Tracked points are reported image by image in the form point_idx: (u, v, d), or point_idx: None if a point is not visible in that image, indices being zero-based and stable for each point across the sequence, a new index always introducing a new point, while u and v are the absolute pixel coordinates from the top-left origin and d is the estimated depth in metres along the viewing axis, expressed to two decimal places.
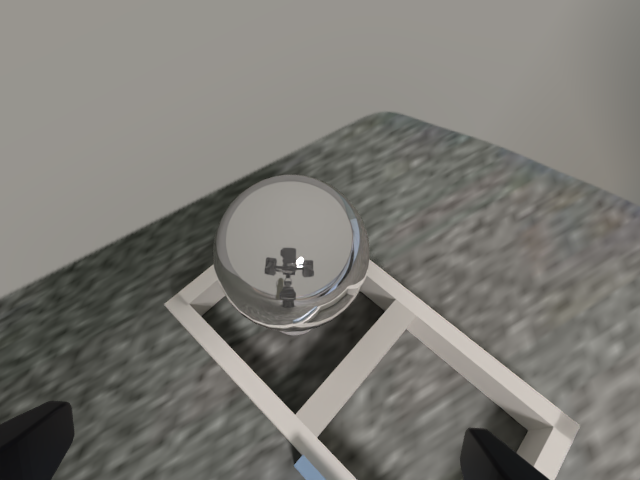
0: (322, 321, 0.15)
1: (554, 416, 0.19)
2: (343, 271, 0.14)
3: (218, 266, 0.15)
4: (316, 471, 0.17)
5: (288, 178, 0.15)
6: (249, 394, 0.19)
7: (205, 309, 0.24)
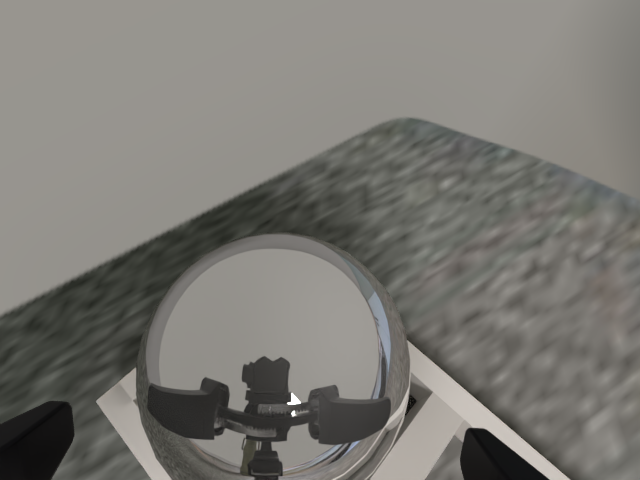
0: None
1: None
2: (370, 436, 0.07)
3: (139, 410, 0.08)
4: None
5: (269, 247, 0.08)
6: None
7: None
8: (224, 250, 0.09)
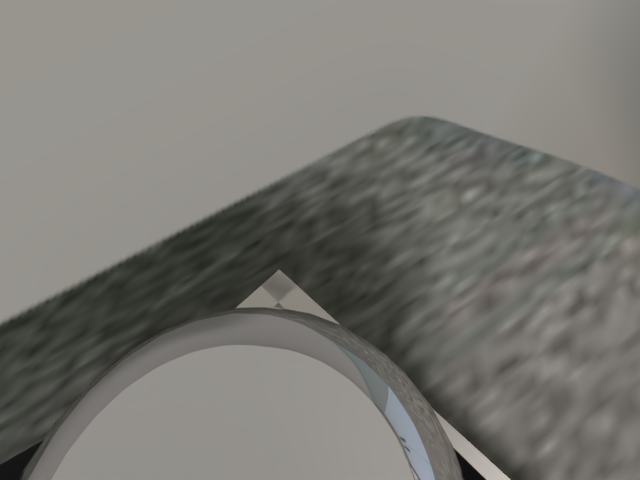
0: None
1: None
2: None
3: None
4: None
5: (229, 369, 0.04)
6: None
7: None
8: (150, 365, 0.05)
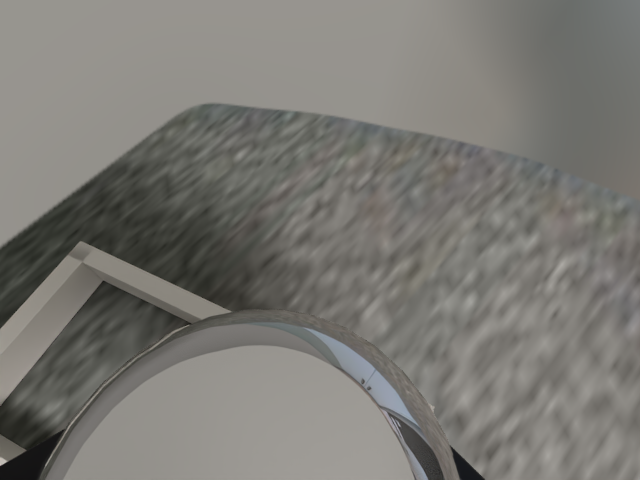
0: None
1: None
2: None
3: None
4: None
5: (253, 373, 0.05)
6: None
7: None
8: (171, 369, 0.05)
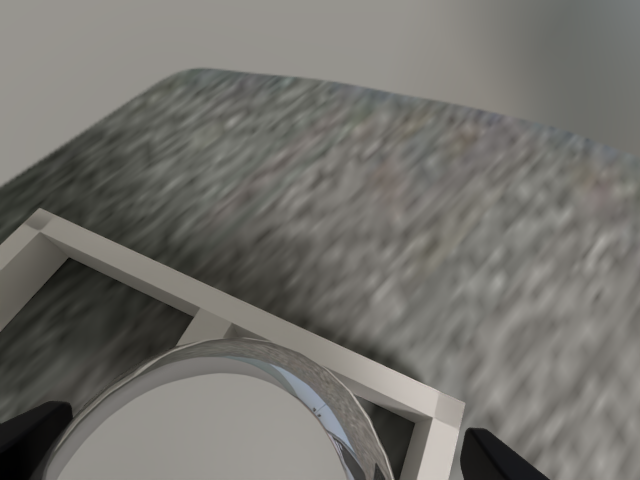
0: None
1: (431, 402, 0.14)
2: None
3: None
4: None
5: (190, 399, 0.06)
6: None
7: None
8: (127, 396, 0.06)
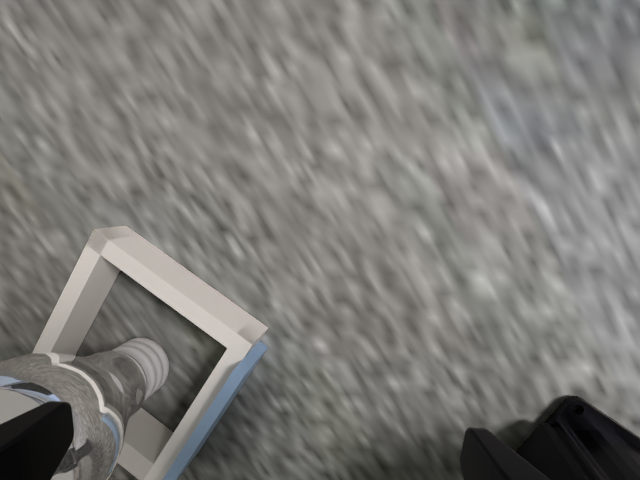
0: (98, 433, 0.14)
1: (92, 252, 0.20)
2: None
3: None
4: (164, 477, 0.20)
5: None
6: None
7: None
8: None
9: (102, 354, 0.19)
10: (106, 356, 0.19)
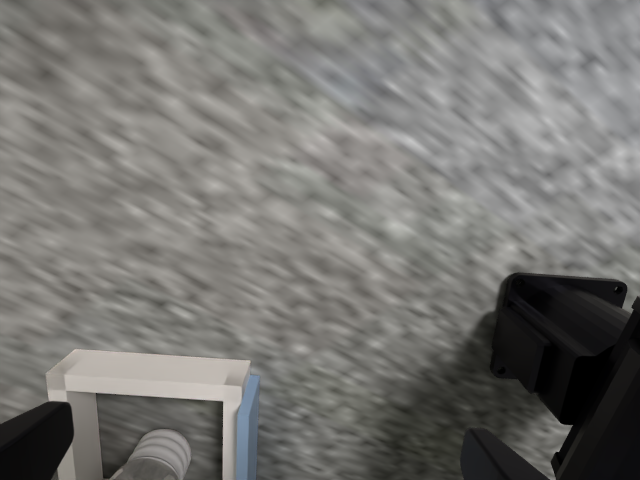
0: None
1: (57, 393, 0.20)
2: None
3: None
4: None
5: None
6: None
7: None
8: None
9: (119, 471, 0.19)
10: (124, 471, 0.19)
